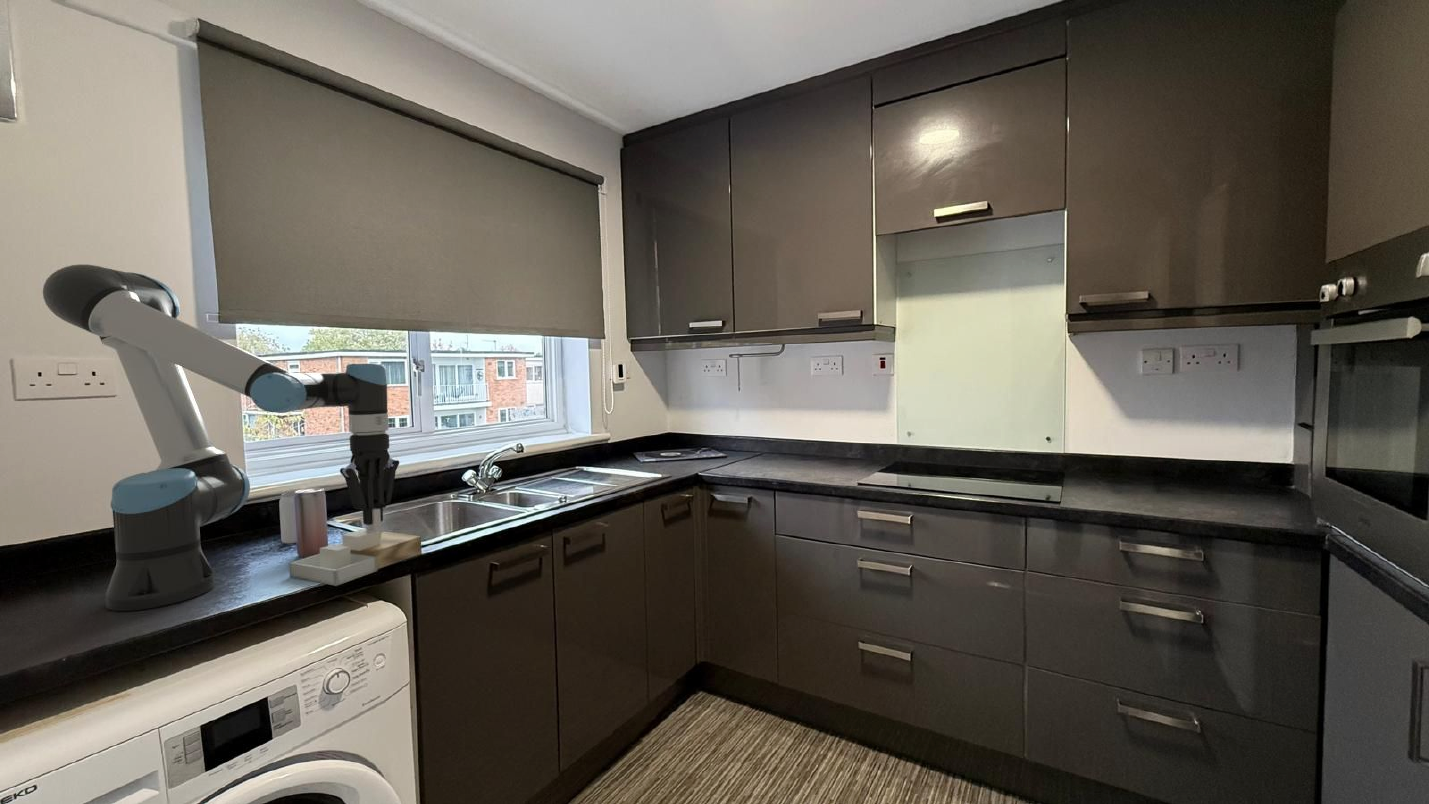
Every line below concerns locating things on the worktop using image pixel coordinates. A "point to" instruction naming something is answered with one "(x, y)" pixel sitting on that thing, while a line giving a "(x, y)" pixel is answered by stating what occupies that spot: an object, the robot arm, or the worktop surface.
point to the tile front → (334, 556)
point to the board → (393, 548)
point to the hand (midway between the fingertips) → (374, 537)
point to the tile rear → (361, 539)
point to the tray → (313, 571)
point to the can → (287, 518)
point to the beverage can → (310, 521)
